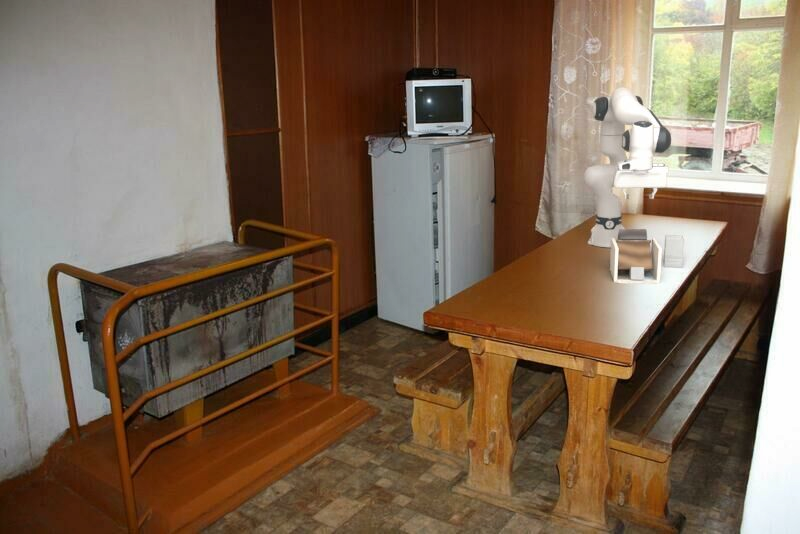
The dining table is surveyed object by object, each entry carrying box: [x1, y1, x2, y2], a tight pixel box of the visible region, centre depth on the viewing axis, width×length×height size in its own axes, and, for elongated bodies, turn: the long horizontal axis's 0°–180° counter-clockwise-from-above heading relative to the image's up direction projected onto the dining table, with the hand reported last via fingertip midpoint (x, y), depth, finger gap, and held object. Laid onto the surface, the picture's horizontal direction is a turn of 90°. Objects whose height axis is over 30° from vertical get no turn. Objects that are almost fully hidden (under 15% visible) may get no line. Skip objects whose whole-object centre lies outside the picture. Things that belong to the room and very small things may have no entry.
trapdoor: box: [616, 228, 652, 271], centre depth 292 cm, size 20×14×7 cm
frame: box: [609, 237, 663, 285], centre depth 286 cm, size 20×18×14 cm
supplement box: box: [663, 234, 685, 268], centre depth 299 cm, size 7×7×13 cm
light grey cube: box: [628, 267, 645, 280], centre depth 281 cm, size 5×5×5 cm
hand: (638, 198), depth 277 cm, fingers open, 8 cm apart
